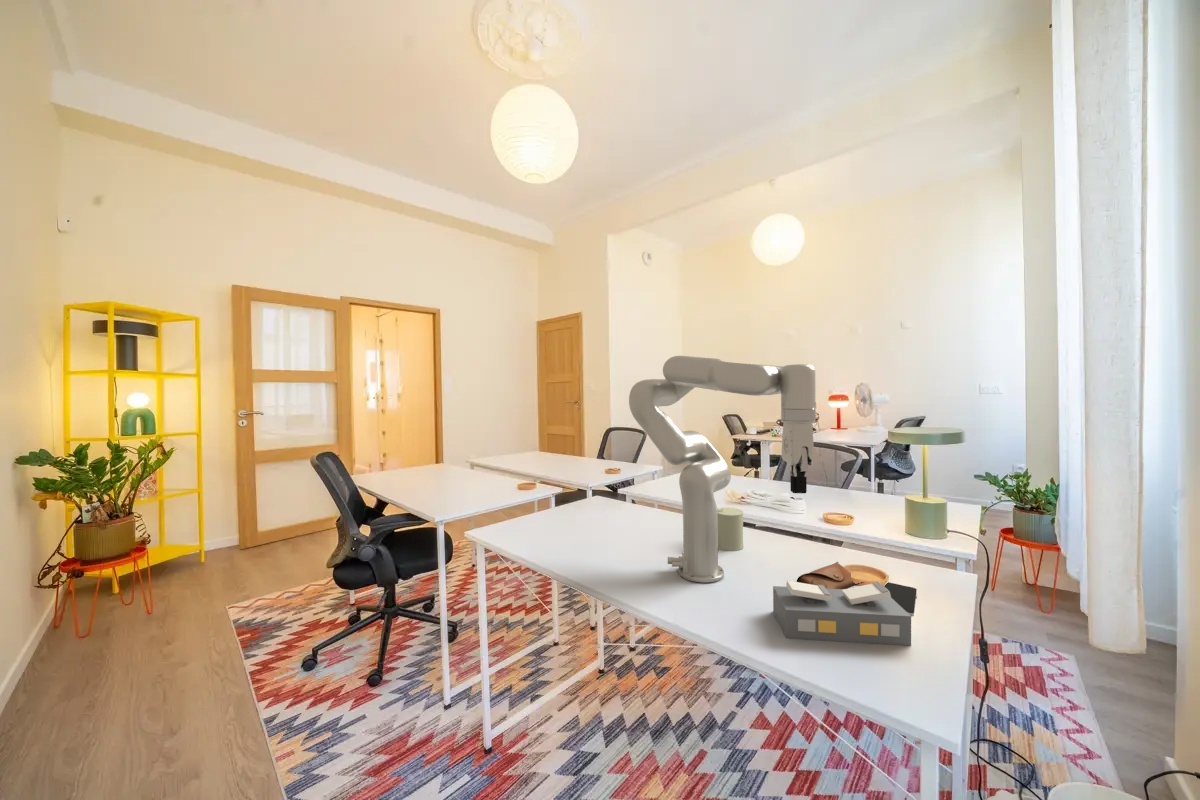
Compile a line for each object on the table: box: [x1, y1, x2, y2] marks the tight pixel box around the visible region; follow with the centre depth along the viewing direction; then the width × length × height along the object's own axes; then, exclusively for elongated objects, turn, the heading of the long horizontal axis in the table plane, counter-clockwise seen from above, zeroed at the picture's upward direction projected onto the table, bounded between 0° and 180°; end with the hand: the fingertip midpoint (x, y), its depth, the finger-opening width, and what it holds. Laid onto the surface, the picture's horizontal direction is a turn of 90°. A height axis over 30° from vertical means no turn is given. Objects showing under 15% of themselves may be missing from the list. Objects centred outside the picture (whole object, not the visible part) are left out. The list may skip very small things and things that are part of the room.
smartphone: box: [884, 581, 918, 617], centre depth 108 cm, size 8×1×15 cm
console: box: [772, 585, 912, 647], centre depth 96 cm, size 24×11×7 cm, turn 82°
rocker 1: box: [785, 580, 832, 601], centre depth 97 cm, size 8×4×1 cm, turn 82°
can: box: [717, 507, 744, 552], centre depth 146 cm, size 9×9×12 cm
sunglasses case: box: [796, 561, 857, 589], centre depth 117 cm, size 18×7×7 cm, turn 122°
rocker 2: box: [842, 581, 891, 605], centre depth 95 cm, size 8×4×1 cm, turn 81°
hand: (798, 492), depth 106 cm, fingers closed
